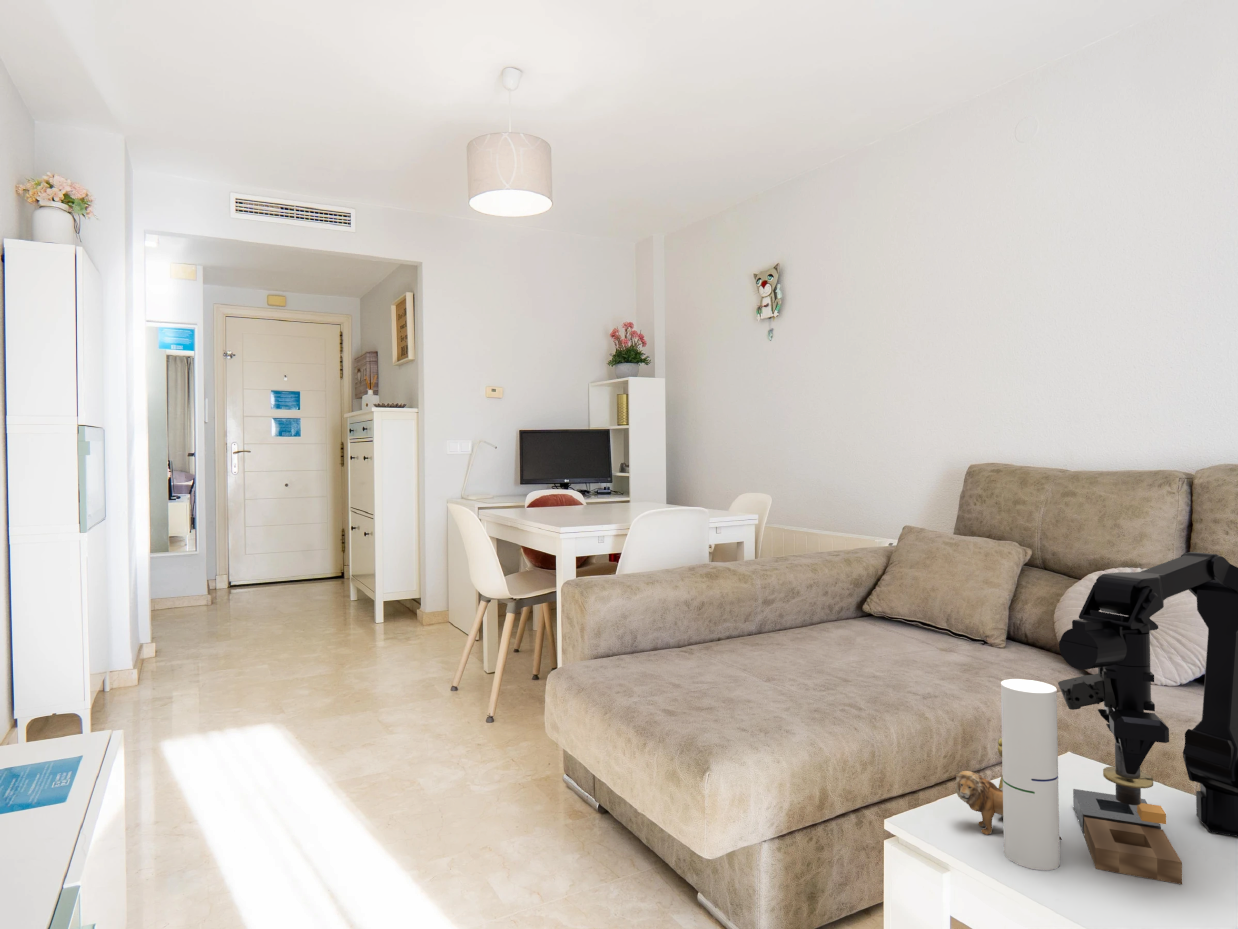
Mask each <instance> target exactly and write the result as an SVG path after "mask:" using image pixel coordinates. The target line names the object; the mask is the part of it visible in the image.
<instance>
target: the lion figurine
mask: <svg viewBox="0 0 1238 929" xmlns="http://www.w3.org/2000/svg"><path fill="white" fill-rule="evenodd" d="M955 778H956V780H955V786H954V787H955V788H954V789H955V792H956V795H957V796H958V798H959V799H960V800H962V802H964V803H966V805H968V806H969V808H970V810H972V811H974V812H978V813H980V814H981V819H982V820H980V821H978V826H979V827H983V828H982V829H981V833H982V834H984V835H986V836H989V835H991V834H992V831H993V817H994V816H995V814H996V815H1000V816H1002V815H1003V791H1002V790H1000V789H999V787H998V786H997V785H996V784H994V782H993V781H991V780H988V779H986V778H984V777H982V775H980V774H978V773H977V772H974V771H970V770H963V771H960V772H959V773H958V774H957V773H956V774H955ZM984 827H985V828H984ZM1062 840H1063V838H1062V837H1061V836H1060V835H1059V841H1062Z"/></svg>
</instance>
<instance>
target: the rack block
mask: <svg viewBox="0 0 1238 929" xmlns="http://www.w3.org/2000/svg"><path fill="white" fill-rule="evenodd" d="M1083 836H1084V840H1085V842H1086V846H1087V848H1088V851H1089V854H1090V857H1091V860H1092V862H1093V864H1094V868H1095V870H1101V871H1106V872H1111V873H1112V872H1113V873H1117V874H1121V875H1122V874H1123V875H1129V876H1134V877H1139V878H1144V879H1150V880H1156V881H1162V882H1168V883H1170V884H1171V883H1172V884H1177V885H1183V862H1182V859H1181V858H1180V856H1179V855H1178V853H1177V852H1176V850H1175V847H1174V846H1173V845H1172V842H1171V841H1170V839H1169V838H1168V835H1167V834H1166V833H1165V830H1164V829H1162V828H1161V829H1156V828H1150V827H1144V826H1137V825H1131V824H1125V823H1118V822H1112V821H1106V820H1099V819H1093V818H1087V817H1084V834H1083Z"/></svg>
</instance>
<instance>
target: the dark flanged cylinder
mask: <svg viewBox="0 0 1238 929" xmlns="http://www.w3.org/2000/svg"><path fill="white" fill-rule="evenodd" d="M1114 742H1115V741H1114ZM1114 764H1115V766H1106V767H1104V768H1103V769H1102V771H1103V772H1102V776H1103V778H1105V779H1106V780H1107V781H1108V782H1111V783H1113V784H1115V795H1116V799H1117V800H1118V801H1119V802H1122V803H1125V804H1129V805H1140V804H1141V799H1142V798H1141V797H1142V796H1141V795H1142V791H1141V789H1148V788H1152V787H1153V786H1154V778H1153V777H1152V776H1151V775H1150V774H1149V773H1147V772H1144V771H1142V770H1141V767H1140V768H1139V769H1138V771H1137V773H1136V774H1134V775H1133V774H1128V773H1126V770H1125V766H1124V761H1123V757H1122V752H1121V747H1120V743H1119V742H1115V743H1114Z"/></svg>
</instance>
